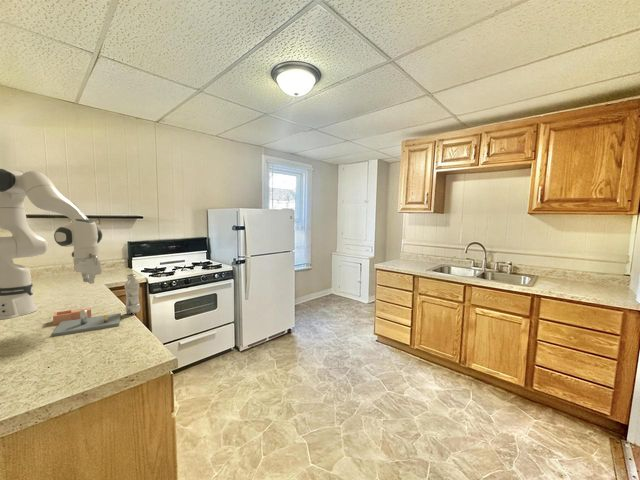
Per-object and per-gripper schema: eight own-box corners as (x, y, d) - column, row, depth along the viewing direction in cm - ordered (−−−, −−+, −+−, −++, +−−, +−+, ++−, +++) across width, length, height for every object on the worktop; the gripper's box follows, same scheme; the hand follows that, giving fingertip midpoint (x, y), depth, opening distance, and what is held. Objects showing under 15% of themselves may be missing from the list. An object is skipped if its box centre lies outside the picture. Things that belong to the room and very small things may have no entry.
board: (52, 337, 112) (52, 333, 112) (61, 324, 124) (61, 321, 124) (119, 326, 124) (118, 323, 124) (120, 316, 136) (120, 313, 136)
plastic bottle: (124, 316, 136) (122, 276, 134) (126, 312, 142) (125, 274, 140) (139, 314, 139) (138, 275, 137) (141, 310, 145) (139, 273, 143)
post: (79, 324, 121) (78, 311, 121) (82, 322, 123) (81, 309, 123) (106, 323, 124) (105, 310, 123) (108, 321, 126) (108, 308, 125)
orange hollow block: (53, 325, 124) (52, 316, 124) (54, 320, 129) (54, 312, 129) (91, 318, 132) (90, 310, 132) (91, 314, 137) (90, 306, 137)
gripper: (104, 254, 125) (106, 283, 126) (86, 251, 135) (88, 279, 136) (87, 255, 119) (89, 286, 120) (69, 253, 130) (72, 281, 131)
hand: (88, 282), depth 128 cm, fingers open, 4 cm apart
